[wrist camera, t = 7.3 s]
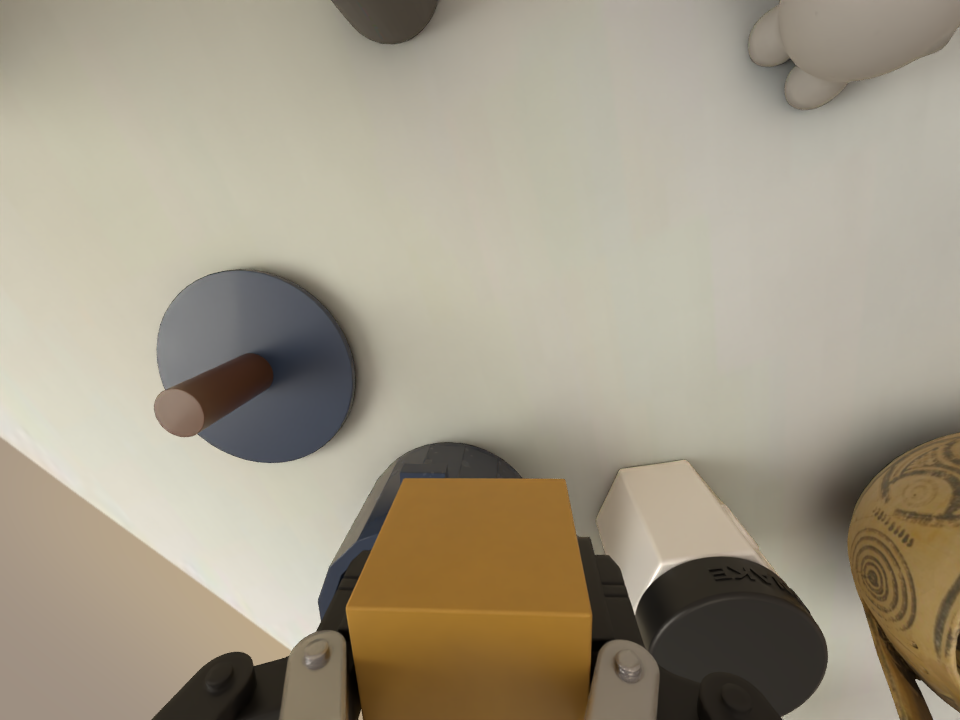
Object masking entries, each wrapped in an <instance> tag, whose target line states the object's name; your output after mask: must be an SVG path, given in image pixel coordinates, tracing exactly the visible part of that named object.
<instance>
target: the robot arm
mask: <svg viewBox="0 0 960 720" xmlns="http://www.w3.org/2000/svg"><path fill="white" fill-rule="evenodd" d="M577 540H578V545H579V550H580V555H581V560H582V565H583V570H584V575H585V580H586V585H587V590H588V595H589V600H590V605H591V610H592V641H591V671H590V693H589V697H588V702H587V706H586V711H585V715H584V720H782V718H781V717H780V716H779V714H778V713H777V712H776V711H775V709H774V708H773V707H772V705H771V704H770V703H769V702H768V700H767V699H766V698H765V696H764V695H763V694H762V693H761V692H760V691H759V690H758V689H757V688H756V687H755V686H754V685H752V684H751V683H750V682H748V681H747V680H745V679H743V678H741V677H739V676H737V675H734V674H731V673H727V672H713V673H710V674H708V675H706V676H705V677H704V678H703V679H702V681H701V683H699V682H696V681H693V680H690V679H687V678H684V677H681V676H678V675H676V674H673V673H671V672H669V671H667V670H666V669H664V668H663V667H661V666H660V665H659V664H658V663H657V662H656V661H655V659H654V657H653V656H652V655H651V654H650V653H649V652H648V651H647V650H646V648H645V646H644V643H643V640H642V637H641V634H640V630H639V627H638V624H637V621H636V617H635V614H634V611H633V608H632V605H631V601H630V598H629V596H628V592H627V588H626V586H625V582H624V579H623V576H622V572H621V569H620V567H619V566H618V565H617V564H616V563H615V561H614V560H613V559H612V558H611V557H610V556H609V555H594V550H593V546H592V542H591V539H590V537H577ZM370 552H371V551H364V550H363V551H362V552H361V553H360V554H359V555H358V556H357V557H356V558H354V559H353V560H352V561H351V562H350V564H349V566H348V568H347V570H346V572H345V574H344V578H343V579H342V580H341V582H340V584H339V587H338V590H337V591H336V593H335V595H334V597H333V599H332V601H331V603H330V605H329V607H328V609H327V611H326V613H325V615H324V617H323V619H322V621H321V623H320V625H319V627H318V629H317V631H316V632H315V633H312V634H310V635H308V636H307V637H305V638H304V639H302V640H301V641H300V642H299V643H298V644H297V645H296V646H295V647H294V648H293V650H292V651H291V653H290V655H289V656H288V657H286V658H282V659H279V660H275V661H272V662H268V663H264V664H261V665H257V666H253V662H252V659H251V657H250V656H249V655H247V654H245V653H242V652H231V653H227V654H224V655H221V656H219V657H217V658H215V659H213V660H211V661H210V662H208V663H207V664H206V665H205V666H203V667H202V668H201V669H200V670H199V671H198V672H197V673H196V674H195V675H194V676H193V677H192V678H191V679H190V680H189V681H188V682H187V683H186V684H185V686H184V687H183V688H182V689H181V690H180V691H179V692H178V693H177V694H176V695H175V696H174V697H173V698H172V699H171V700H170V701H169V702H168V703H167V704H166V705H165V706H164V707H163V708H162V710H160V712H158V714H157V715H156V716H154V718H153V719H152V720H358V717H359V714H360V711H361V703H360V697H359V691H358V684H357V678H356V672H355V665H354V659H353V653H352V646H351V640H350V634H349V627H348V621H347V615H346V605H347V603H348V601H349V599H350V596H351V594H352V592H353V590H354V588H355V585H356V583H357V581H358V579H359V577H360V574H361V572H362V570H363V568H364V566H365V563H366V561H367V559H368V557H369V554H370Z"/></svg>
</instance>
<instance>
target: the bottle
mask: <svg viewBox="0 0 960 720" xmlns="http://www.w3.org/2000/svg"><path fill="white" fill-rule="evenodd" d="M331 1H332V2H333V3H334V4H335V6H336V7H337V8H338V9H339V11H340V12H341V13H342V14H343V15H344V17H345V18H346V19H347V20H348V21H349V22H350V23H351V25H352V26H353V27H354V28H355V29H356V30H357V31H358V32H359V33H361V34H362V35H364V36H365V37H367V38H369V39H370V40H373V41H376V42H379V43H383V44H396V43H401V42H404V41H406V40H409V39H411V38H412V37H414V36H415V35H417V34H418V33H419V32H420V31H421V30H422V29H423V28H424V27H425V26H426V25H427V23H428V22H429V20H430V19H431V17H432V15H433V13H434V10H435V8H436V5H437V1H438V0H331Z"/></svg>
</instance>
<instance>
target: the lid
mask: <svg viewBox="0 0 960 720" xmlns="http://www.w3.org/2000/svg"><path fill="white" fill-rule="evenodd" d="M157 362H158V368H159V373H160V377H161V380H162V383H163V386H164V388H165V390H164V391H162V392H161V393H160V394H159V395H158V396H157V398H156V400H155V404H154V411H155V415H156V418H157V420H158V421H159V423H160V424H161V426H162V427H163V428H164V429H166V430H167V431H168V432H170V433H172V434H174V435H176V436H180V437H190V436H194V435H196V434H198V435H199V436H200V437H202V438H203V439H204V440H206V441H207V442H209V443H210V444H211V445H213V446H215V447H217V448H218V449H220V450H222V451H224V452H226V453H228V454H231V455H233V456H236V457H239V458H242V459H245V460H250V461H255V462H264V463H279V462H287V461H292V460H296V459H299V458H302V457H305V456H307V455H309V454H311V453H313V452H315V451H317V450H318V449H320V448H321V447H323V446H324V445H325V444H326V443H327V442H328V441H330V440H331V439H332V438H333V437H334V435H335V434H336V433H337V432H338V430H339V429H340V428H341V427H342V425H343V423H344V422H345V420H346V418H347V416H348V414H349V411H350V409H351V406H352V402H353V398H354V393H355V368H354V363H353V357H352V354H351V351H350V348H349V344H348V342H347V340H346V338H345V336H344V334H343V332H342V330H341V328H340V327H339V325H338V323H337V322H336V320H335V319H334V318H333V316H332V315H331V314H330V313H329V311H328V310H327V309H326V308H325V307H324V306H323V305H322V304H321V303H320V302H319V301H318V300H317V299H316V298H315V297H313V296H312V295H311V294H310V293H308V292H307V291H306V290H304V289H303V288H301V287H300V286H298V285H296V284H295V283H293V282H291V281H289V280H286V279H284V278H282V277H280V276H277V275H273V274H270V273H267V272H262V271H256V270H242V269H239V270H229V271H222V272H218V273H214V274H210V275H207V276H205V277H203V278H200V279H198V280H196V281H195V282H193V283H192V284H190V285H188V286H187V287H186V288H185V289H184V290H183V291H181V292H180V293H179V294H178V295H177V297H176V298H175V299H174V300H173V301H172V303H171V304H170V306H169V307H168V309H167V311H166V312H165V314H164V317H163V319H162V322H161V324H160V329H159V333H158V339H157Z"/></svg>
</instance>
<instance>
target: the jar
mask: <svg viewBox="0 0 960 720" xmlns="http://www.w3.org/2000/svg"><path fill="white" fill-rule="evenodd" d="M596 523H597V527H598V531H599V534H600V538H601V541H602V545H603V548H604V552H605V555H609V556H610V557H611V558H612V559H613V560H614V561H615V563H616V564H617V565H618V566H619V567H620V569H621V572H622V576H623V579H624V582H625V586H626V588H627V592H628V596H629V598H630V601H631V605H632V608H633V611H634V614H635V617H636V621H637V624H638V627H639V630H640V634H641V637H642V640H643V643H644V646H645V648H646V650H647V651H648V652H649V653H650V654H651V655H652V656H653V657H654V659H655V661H656V662H657V663H658V664H659V665H660V666H661V667H663V668H664V669H666V670H667V671H669V672H671V673H673V674H676V675H678V676H681V677H684V678H687V679H690V680H693V681H696V682H699V683H701V681H702V679H703V678H704V677H705V676H706V675H708V674H710V673H713V672H727V673H731V674H734V675H737V676H739V677H741V678H743V679H745V680H747V681H748V682H750V683H751V684H752V685H754V686H755V687H756V688H757V689H758V690H759V691H760V692H761V693H762V694H763V695H764V696H765V698H766V699H767V700H768V702H769V703H770V704H771V705H772V707H773V708H774V709H775V711H776V712H777V713H778V714H779V716H780V717H782V716H784V715H786V714H788V713H790V712H791V711H793V710H794V709H796V708H798V707H799V706H800V705H802V704H803V703H804V702H805V701H806V700H807V699H808V698H810V696H811V695H812V694H813V693H814V692H815V691H816V689H817V688H818V686H819V685H820V683H821V681H822V679H823V677H824V675H825V671H826V668H827V662H828V651H827V645H826V641H825V638H824V636H823V633H822V631H821V629H820V628H819V626H818V625H817V623H816V622H815V621H814V619H813V617H812V616H811V614H810V611H809V610H808V609H807V608H806V606H805V605H804V603H803V602H802V601H801V600H800V598H799V597H798V596H797V595H796V593H795V592H794V591H793V590H792V589H791V588H789V587H788V586H787V584H786V583H785V582H784V581H783V580H782V579H781V577H780V576H779V575H778V573H777V572H776V571H775V570H774V568H773V567H772V566H771V564H770V563H769V562H768V560H767V559H766V558H765V557H764V555H763V554H762V553H761V551H760V550H759V546H758V544H757V543H756V542H755V540H754V539H753V538H752V537H751V535H750V534H749V533H748V532H747V530H746V529H745V528H744V527H743V525H742V524H741V523H740V522H739V520H738V519H737V518H736V517H735V516H734V514H733V513H732V512H731V510H730V509H729V508H728V507H727V505H724V503H723V502H722V501H721V500H720V498H719V497H718V496H717V495H716V494H715V493H714V491H713V490H712V489H711V488H710V487H709V486H708V484H707V483H706V482H705V481H704V480H703V479H702V477H701V476H700V475H699V474H698V473H697V472H696V470H695V469H694V468H693V467H692V466H691V465H690V463H689V462H688V461H686V460H679V461H672V462H666V463H659V464H652V465H645V466H638V467H630V468H623V469H620V470H619V472H618V474H617V476H616V478H615V480H614V482H613V484H612V486H611V489H610V491H609V493H608V495H607V497H606V499H605V501H604V503H603V505H602V507H601V509H600V511H599V514H598V516H597V518H596Z"/></svg>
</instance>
